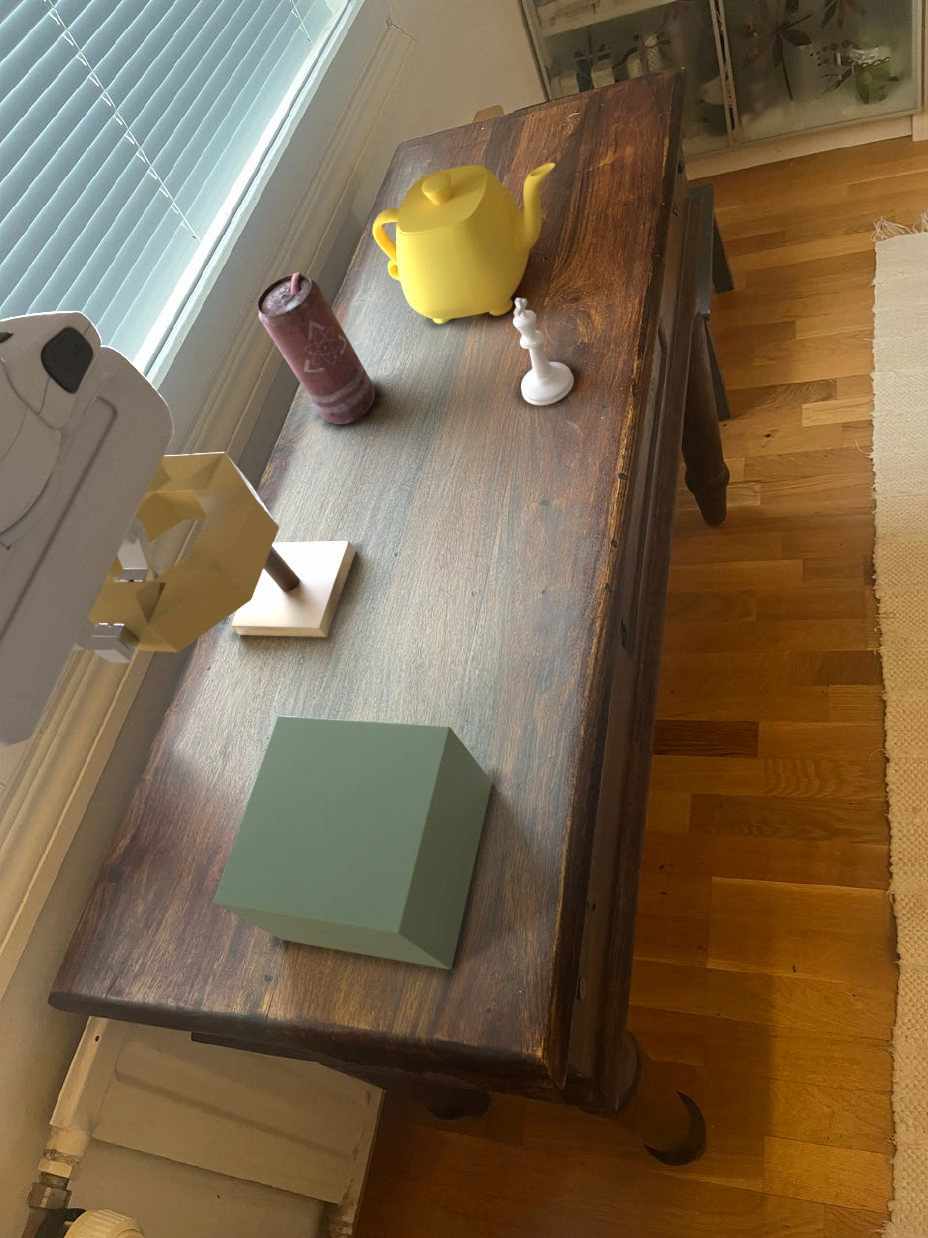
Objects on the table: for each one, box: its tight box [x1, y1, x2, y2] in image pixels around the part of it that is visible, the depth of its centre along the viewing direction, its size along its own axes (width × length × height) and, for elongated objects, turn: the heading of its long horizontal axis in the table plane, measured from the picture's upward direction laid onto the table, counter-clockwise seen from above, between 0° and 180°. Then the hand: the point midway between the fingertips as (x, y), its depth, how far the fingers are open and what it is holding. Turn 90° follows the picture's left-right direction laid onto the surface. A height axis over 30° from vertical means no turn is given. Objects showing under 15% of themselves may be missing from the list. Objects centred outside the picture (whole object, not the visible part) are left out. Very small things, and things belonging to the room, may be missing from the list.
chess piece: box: [512, 297, 575, 406], centre depth 82 cm, size 5×5×10 cm
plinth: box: [212, 715, 493, 970], centre depth 62 cm, size 13×13×9 cm
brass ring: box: [87, 451, 280, 653], centre depth 53 cm, size 12×12×3 cm
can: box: [256, 271, 376, 425], centre depth 89 cm, size 6×6×14 cm
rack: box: [230, 540, 356, 638], centre depth 78 cm, size 9×9×11 cm
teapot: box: [372, 162, 556, 324], centre depth 92 cm, size 14×20×13 cm
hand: (141, 618), depth 51 cm, fingers closed on brass ring, 3 cm apart
